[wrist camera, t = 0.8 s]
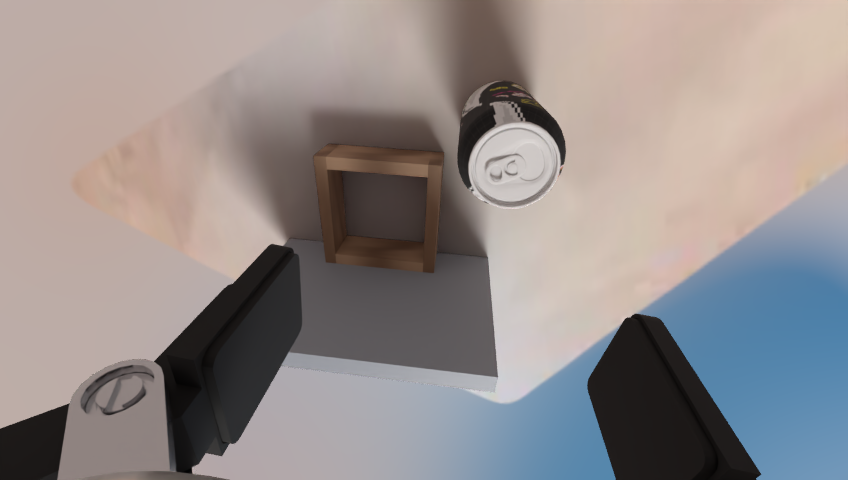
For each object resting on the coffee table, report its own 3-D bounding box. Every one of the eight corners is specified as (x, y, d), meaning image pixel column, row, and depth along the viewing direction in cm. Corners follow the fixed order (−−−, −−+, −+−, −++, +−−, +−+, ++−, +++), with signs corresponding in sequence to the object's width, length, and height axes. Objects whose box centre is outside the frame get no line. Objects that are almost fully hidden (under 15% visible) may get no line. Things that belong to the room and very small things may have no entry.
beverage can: (451, 95, 27) (441, 132, 17) (526, 67, 26) (563, 89, 16) (472, 163, 30) (474, 231, 20) (541, 141, 28) (582, 203, 18)
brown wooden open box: (444, 152, 30) (441, 165, 27) (436, 252, 35) (433, 273, 32) (328, 143, 30) (313, 155, 27) (337, 242, 36) (325, 262, 33)
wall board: (487, 257, 34) (497, 377, 22) (485, 270, 35) (494, 392, 23) (289, 238, 36) (199, 341, 24) (291, 250, 37) (205, 356, 25)
